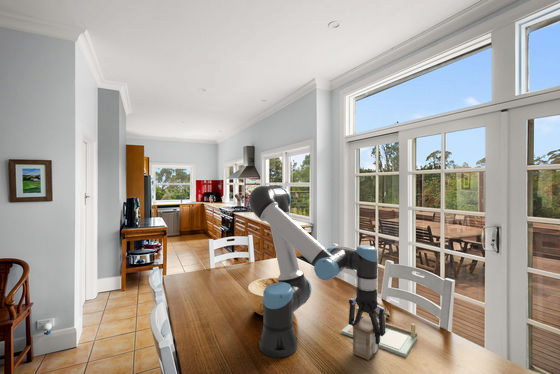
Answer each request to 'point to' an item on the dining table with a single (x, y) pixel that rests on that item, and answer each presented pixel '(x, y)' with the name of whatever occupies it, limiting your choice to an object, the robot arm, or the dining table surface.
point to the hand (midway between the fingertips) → (366, 347)
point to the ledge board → (391, 337)
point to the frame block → (363, 338)
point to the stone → (385, 311)
